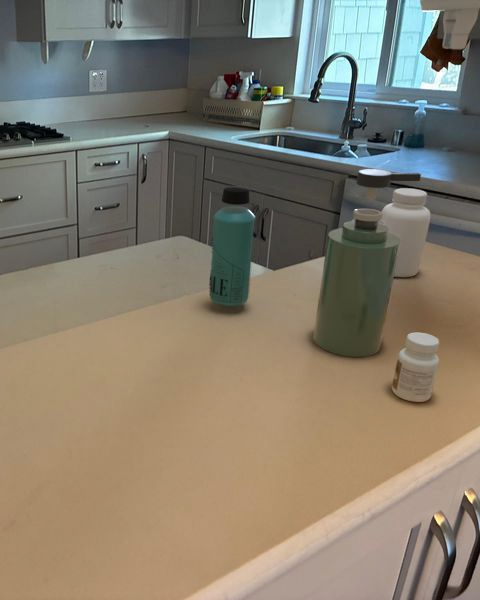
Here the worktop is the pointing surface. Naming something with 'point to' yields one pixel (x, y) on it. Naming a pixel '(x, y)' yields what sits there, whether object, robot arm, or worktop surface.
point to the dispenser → (356, 286)
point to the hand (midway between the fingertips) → (453, 48)
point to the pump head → (381, 180)
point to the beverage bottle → (232, 249)
